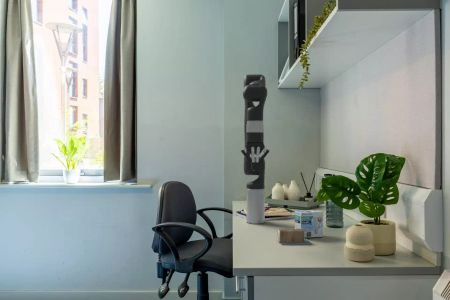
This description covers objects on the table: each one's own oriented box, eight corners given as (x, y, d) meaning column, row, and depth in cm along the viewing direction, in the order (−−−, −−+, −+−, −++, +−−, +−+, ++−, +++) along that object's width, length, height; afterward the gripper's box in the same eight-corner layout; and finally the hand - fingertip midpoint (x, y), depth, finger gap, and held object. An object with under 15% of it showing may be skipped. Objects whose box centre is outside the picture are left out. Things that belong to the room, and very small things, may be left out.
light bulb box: (301, 238, 169) (300, 212, 169) (294, 235, 175) (293, 210, 176) (324, 236, 171) (323, 211, 172) (316, 234, 178) (316, 209, 178)
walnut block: (277, 229, 166) (301, 228, 166) (277, 239, 166) (301, 239, 166) (279, 231, 161) (303, 231, 162) (279, 242, 161) (303, 242, 162)
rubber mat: (277, 239, 169) (277, 238, 169) (305, 238, 169) (305, 237, 169) (282, 244, 159) (282, 244, 159) (312, 244, 159) (312, 243, 159)
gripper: (268, 131, 180) (268, 170, 180) (239, 131, 179) (239, 170, 180) (271, 131, 172) (271, 171, 173) (240, 131, 172) (240, 171, 172)
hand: (254, 170), depth 176 cm, fingers closed
